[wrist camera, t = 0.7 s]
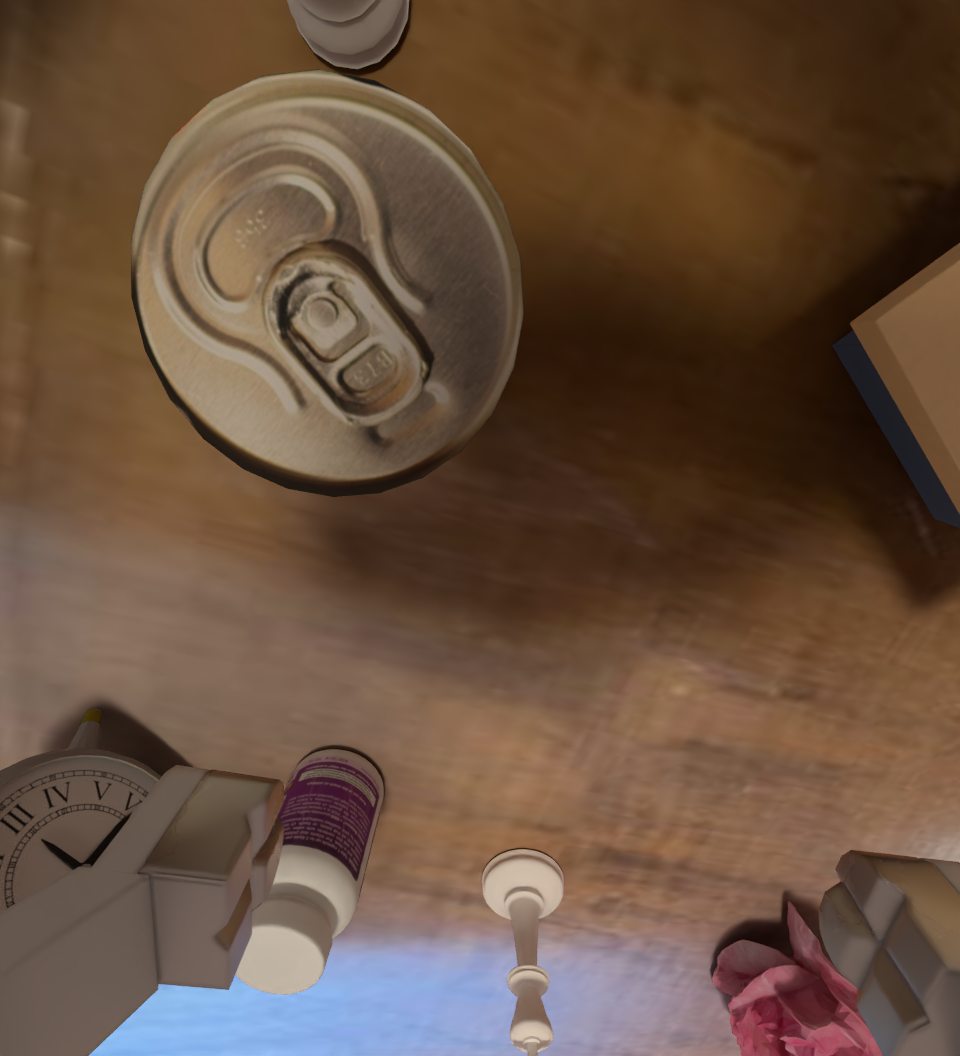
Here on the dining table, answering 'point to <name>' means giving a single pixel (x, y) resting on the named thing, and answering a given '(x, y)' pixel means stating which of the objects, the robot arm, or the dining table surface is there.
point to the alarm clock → (64, 810)
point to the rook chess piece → (350, 28)
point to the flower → (791, 999)
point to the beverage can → (326, 283)
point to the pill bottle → (314, 870)
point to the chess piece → (525, 934)
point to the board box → (915, 378)
